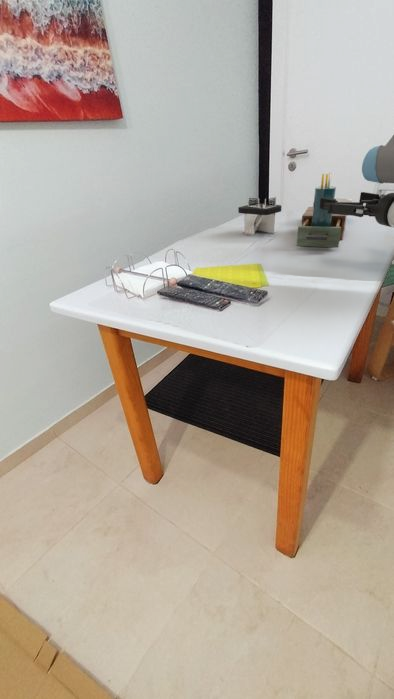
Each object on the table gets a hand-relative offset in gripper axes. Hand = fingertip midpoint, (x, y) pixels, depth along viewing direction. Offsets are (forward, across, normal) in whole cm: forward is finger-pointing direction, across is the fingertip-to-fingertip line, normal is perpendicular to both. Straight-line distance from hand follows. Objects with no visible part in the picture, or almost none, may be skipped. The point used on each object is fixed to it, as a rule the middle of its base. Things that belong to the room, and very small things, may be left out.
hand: (341, 200), depth 98 cm
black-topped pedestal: (+31, -10, -15) cm, 36 cm away
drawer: (+6, -1, -13) cm, 15 cm away
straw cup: (+8, 0, -12) cm, 15 cm away
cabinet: (+18, +8, -14) cm, 24 cm away
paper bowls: (+32, +22, -15) cm, 42 cm away
